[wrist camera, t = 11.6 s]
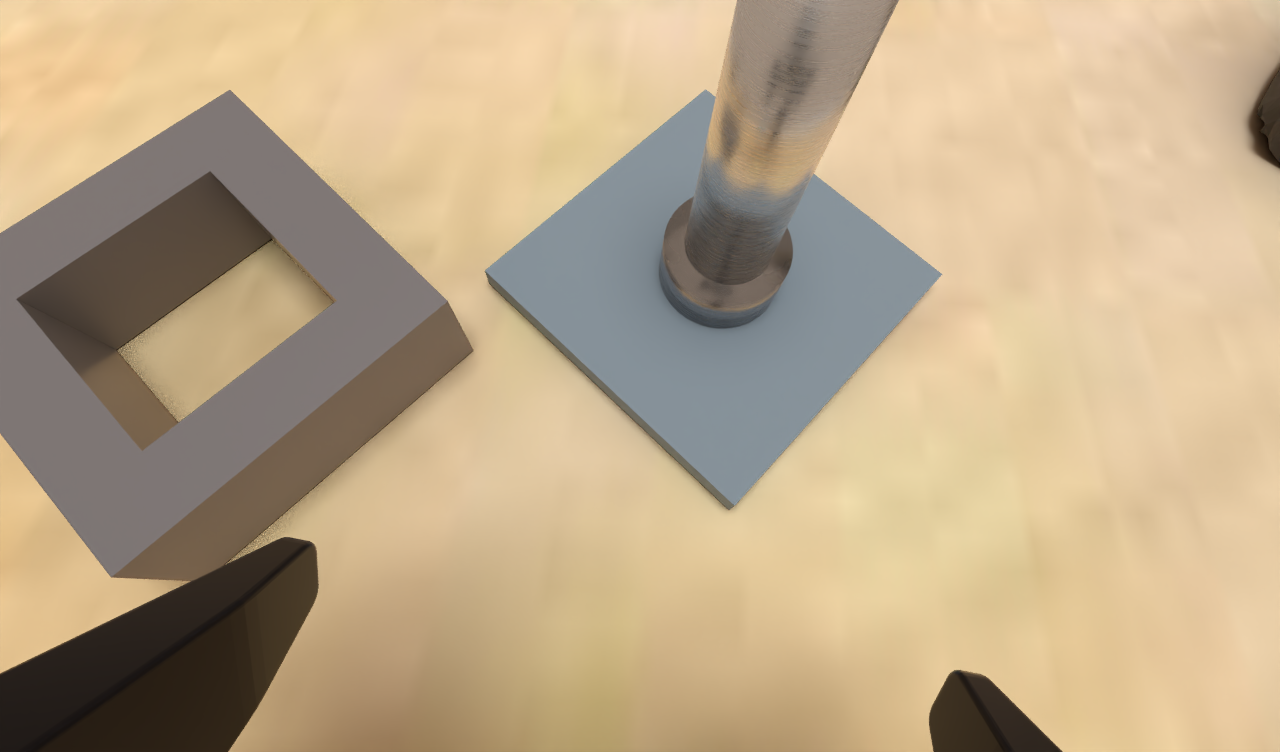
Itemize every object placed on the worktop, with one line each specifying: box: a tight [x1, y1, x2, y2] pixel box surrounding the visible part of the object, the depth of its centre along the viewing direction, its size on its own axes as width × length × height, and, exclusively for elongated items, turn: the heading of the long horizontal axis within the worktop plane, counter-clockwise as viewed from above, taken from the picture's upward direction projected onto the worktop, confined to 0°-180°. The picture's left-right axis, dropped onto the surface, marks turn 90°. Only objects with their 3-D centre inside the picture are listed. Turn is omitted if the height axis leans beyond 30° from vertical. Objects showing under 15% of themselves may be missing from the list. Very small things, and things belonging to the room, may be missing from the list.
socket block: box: [0, 90, 473, 581], centre depth 21 cm, size 11×11×4 cm
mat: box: [485, 90, 942, 510], centre depth 24 cm, size 12×12×1 cm
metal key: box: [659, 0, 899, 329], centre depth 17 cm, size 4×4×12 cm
